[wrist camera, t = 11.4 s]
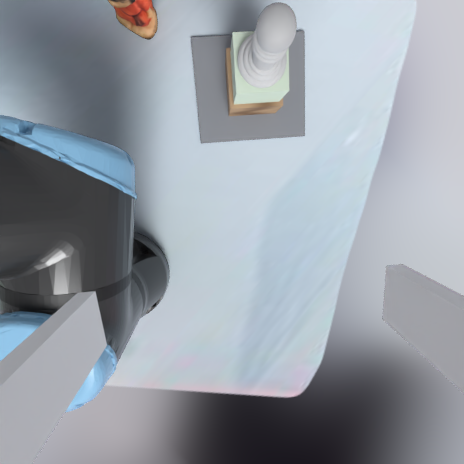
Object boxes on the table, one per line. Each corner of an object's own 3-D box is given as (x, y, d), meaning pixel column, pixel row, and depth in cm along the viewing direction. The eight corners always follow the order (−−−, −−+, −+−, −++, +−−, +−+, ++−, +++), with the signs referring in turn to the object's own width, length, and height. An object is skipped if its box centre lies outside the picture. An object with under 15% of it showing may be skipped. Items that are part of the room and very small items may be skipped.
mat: (201, 143, 40) (201, 143, 40) (191, 38, 37) (190, 37, 36) (304, 136, 41) (304, 135, 40) (303, 32, 37) (304, 30, 37)
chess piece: (287, 85, 29) (317, 50, 21) (240, 92, 29) (250, 60, 20) (282, 31, 28) (312, -31, 19) (233, 38, 28) (240, -21, 19)
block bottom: (228, 116, 39) (230, 108, 34) (225, 63, 37) (226, 48, 32) (275, 113, 39) (283, 105, 34) (273, 60, 38) (281, 44, 33)
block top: (233, 104, 34) (236, 94, 29) (230, 52, 33) (232, 32, 28) (279, 101, 34) (289, 90, 29) (277, 49, 33) (288, 28, 28)
